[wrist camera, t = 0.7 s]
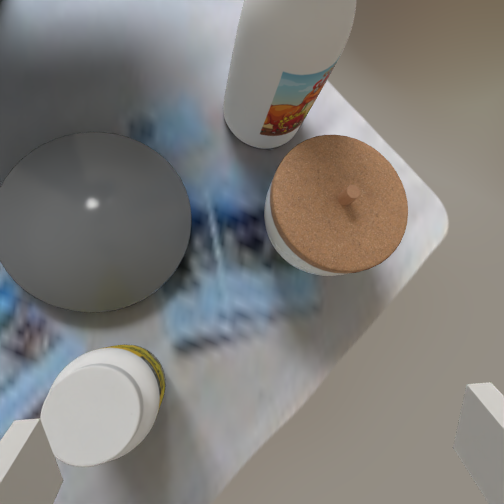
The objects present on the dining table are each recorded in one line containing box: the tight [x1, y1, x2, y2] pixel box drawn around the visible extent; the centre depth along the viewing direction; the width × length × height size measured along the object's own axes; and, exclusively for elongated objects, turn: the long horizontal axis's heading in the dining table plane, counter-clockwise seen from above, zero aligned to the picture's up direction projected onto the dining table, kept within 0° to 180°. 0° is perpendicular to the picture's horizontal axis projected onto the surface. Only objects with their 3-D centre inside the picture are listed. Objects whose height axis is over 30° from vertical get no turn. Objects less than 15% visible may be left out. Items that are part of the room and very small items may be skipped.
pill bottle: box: [40, 345, 165, 467], centre depth 23 cm, size 6×6×11 cm
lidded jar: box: [264, 135, 408, 276], centre depth 30 cm, size 11×11×9 cm
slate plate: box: [0, 132, 191, 313], centre depth 30 cm, size 15×15×2 cm
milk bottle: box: [223, 0, 356, 149], centre depth 26 cm, size 8×8×20 cm
